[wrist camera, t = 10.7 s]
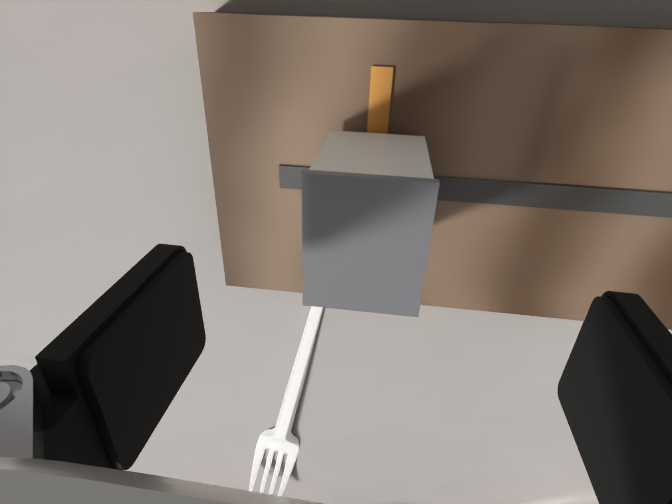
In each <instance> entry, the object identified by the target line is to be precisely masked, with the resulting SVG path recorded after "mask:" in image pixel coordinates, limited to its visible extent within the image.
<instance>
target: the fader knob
mask: <svg viewBox="0 0 672 504" xmlns="http://www.w3.org/2000/svg"><path fill="white" fill-rule="evenodd" d="M439 185H440V182H439V179H434V177H433V172H432V167H431V163H430V158H429V153H428V149H427V144H426V139H425V136H413V135H397V134H381V133H365V132H349V131H333V130H331V131H330V132H329V134H328V136H327V138H326V140H325V141H324V143H323V145H322V147H321V149H320V150H319V152H318V154H317V156H316V158H315V159H314V161H313V163H312V165H311V167H310V168H309V170H305V169H303V171H302V173H301V186H302V271H303V305H305V306H315V307H325V308H334V309H344V310H354V311H364V312H373V313H383V314H393V315H403V316H412V317H418V315H419V309H420V302H421V296H422V290H423V284H424V278H425V271H426V265H427V259H428V253H429V247H430V241H431V234H432V228H433V222H434V216H435V210H436V203H437V197H438V191H439Z"/></svg>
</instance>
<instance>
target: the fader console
mask: <svg viewBox="0 0 672 504" xmlns="http://www.w3.org/2000/svg"><path fill="white" fill-rule="evenodd" d="M193 18H194V26H195V34H196V42H197V50H198V59H199V67H200V75H201V83H202V91H203V100H204V108H205V116H206V124H207V132H208V140H209V149H210V157H211V165H212V173H213V181H214V190H215V198H216V206H217V214H218V222H219V231H220V239H221V247H222V255H223V263H224V272H225V280H226V285H229V286H239V287H249V288H259V289H269V290H279V291H289V292H299V293H303V271H302V186H301V173H302V171H303V169H305V170H309V168H310V167H311V165H312V163H313V161H314V159H315V158H316V156H317V154H318V152H319V150H320V149H321V147H322V145H323V143H324V141H325V140H326V138H327V136H328V134H329V132H330V131H331V130H333V131H349V132H365V133H381V134H397V135H413V136H425V139H426V144H427V149H428V153H429V158H430V163H431V167H432V172H433V177H434V179H439V182H440V185H439V191H438V197H437V203H436V210H435V216H434V222H433V228H432V234H431V241H430V247H429V253H428V259H427V265H426V271H425V278H424V284H423V290H422V296H421V302H420V305H430V306H440V307H450V308H460V309H470V310H480V311H490V312H500V313H510V314H520V315H530V316H540V317H550V318H560V319H570V320H580V321H584V320H585V318H586V315H587V313H588V310H589V308H590V305H591V303H592V301H593V299H594V298H595V297H597V296H602V294H603V293H605V292H606V291H615V292H625V293H634V294H638V295H639V296H641V297H642V299H643V300H644V301H645V302H646V304H647V305H648V306H649V307H650V308H651V310H652V311H653V312H654V313H655V315H656V316H657V317H658V318H659V320H660V321H661V322H662V323H663V324H664V326H665V327H666V328H667V329H671V330H672V29H659V28H631V27H604V26H577V25H549V24H522V23H494V22H467V21H440V20H412V19H385V18H358V17H330V16H303V15H275V14H248V13H221V12H194V13H193Z"/></svg>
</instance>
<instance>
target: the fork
mask: <svg viewBox="0 0 672 504" xmlns="http://www.w3.org/2000/svg"><path fill="white" fill-rule="evenodd" d="M323 308H324V307H315V306H311V309H310V312H309V316H308V319H307V322H306V326H305V329H304V332H303V336H302V339H301V342H300V346H299V349H298V352H297V355H296V359H295V362H294V365H293V369H292V372H291V375H290V378H289V382H288V385H287V389H286V392H285V395H284V399H283V402H282V406H281V409H280V413H279V416H278V419H277V423H276V426H275V428H273V429H268V430H265V431H263V432H262V433H261V435H260V436H259V439H258V443H257V446H256V450H255V455H254V460H253V467H252V473H251V480H250V486H249V491H251V492H252V491H253V487H254V484H255V481H256V477H257V474H258V471H259V468H260V465H261V461H262V458H263V455H264V452H265V449H266V448H268V449H269V453H268V457H267V461H266V465H265V470H264V475H263V479H262V483H261V487H260V491H259V493H263V491H264V488H265V484H266V481H267V478H268V474H269V471H270V467H271V463H272V459H273V456H274V452H275V451H278V452H279V453H278V457H277V461H276V465H275V470H274V474H273V478H272V482H271V487H270V491H269V495H272V494H273V491H274V488H275V484H276V481H277V477H278V474H279V471H280V467H281V463H282V459H283V456H284V453H287V454H288V456H287V460H286V465H285V469H284V473H283V477H282V481H281V485H280V489H279V493H278V496H281V497H282V495H283V492H284V490H285V487H286V485H287V482H288V480H289V477H290V475H291V472H292V470H293V467H294V465H295V462H296V459H297V456H298V451H299V447H300V444H299V441H298V439H297V437H295V436H294V435H293V434H292V433H291V429H292V425H293V422H294V418H295V414H296V411H297V407H298V403H299V399H300V396H301V392H302V388H303V385H304V381H305V377H306V373H307V369H308V365H309V361H310V357H311V354H312V350H313V346H314V342H315V338H316V334H317V331H318V327H319V323H320V319H321V316H322V312H323Z"/></svg>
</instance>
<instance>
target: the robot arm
mask: <svg viewBox="0 0 672 504" xmlns="http://www.w3.org/2000/svg"><path fill="white" fill-rule="evenodd" d="M205 340H206V337H205V330H204V324H203V317H202V311H201V305H200V299H199V292H198V286H197V280H196V274H195V268H194V261H193V257H192V255H191V253H188V252H186V249H185V248H184V247H183V246H177V245H168V244H158V245H156V246H155V247H154V248H153V249H152V250H151V251H150V252H149V253H148V254H146V255H145V256H144V257H143V258H142V259H141V260H140V261H139V262H138V263H137V264H136V265H135V266H133V267H132V268H131V269H130V270H129V271H128V272H127V273H126V274H125V275H124V276H123V277H121V278H120V279H119V280H118V281H117V282H116V283H115V284H114V285H113V286H112V287H111V288H109V289H108V290H107V291H106V292H105V293H104V294H103V295H102V296H101V297H100V298H99V299H97V300H96V301H95V302H94V303H93V304H92V305H91V306H90V307H89V308H88V309H87V310H86V311H84V312H83V313H82V314H81V315H80V316H79V317H78V318H77V319H76V320H75V321H74V322H72V323H71V324H70V325H69V326H68V327H67V328H66V329H65V330H64V331H63V332H62V333H60V334H59V335H58V336H57V337H56V338H55V339H54V340H53V341H52V342H51V343H50V344H48V345H47V346H46V347H45V348H44V349H43V350H42V351H41V352H40V353H39V354H38V355H37V356H35V358H36V361H37V363H38V364H37V365H36V366H34V367H33V368H32V369H31V370H30V371H28V370H27V369H26V368H24V367H20V366H16V365H5V366H0V504H322V503H316V502H310V501H304V500H299V499H293V498H287V497H281V496H275V495H269V494H263V493H257V492H251V491H245V490H239V489H233V488H227V487H221V486H215V485H209V484H203V483H197V482H191V481H185V480H179V479H173V478H167V477H162V476H156V475H150V474H144V473H137V472H130V471H124V470H127V469H129V468H130V467H131V466H132V465H133V464H134V462H135V461H136V459H137V457H138V456H139V454H140V452H141V451H142V449H143V447H144V446H145V444H146V443H147V441H148V439H149V438H150V436H151V434H152V433H153V431H154V429H155V428H156V426H157V425H158V423H159V421H160V420H161V418H162V416H163V415H164V413H165V412H166V410H167V408H168V407H169V405H170V403H171V402H172V400H173V398H174V397H175V395H176V394H177V392H178V390H179V389H180V387H181V385H182V384H183V382H184V381H185V379H186V377H187V376H188V374H189V372H190V371H191V369H192V367H193V366H194V364H195V363H196V361H197V359H198V358H199V356H200V354H201V353H202V351H203V349H204V346H205ZM558 397H559V400H560V403H561V406H562V408H563V411H564V413H565V416H566V419H567V421H568V424H569V426H570V429H571V432H572V434H573V437H574V439H575V442H576V444H577V447H578V450H579V452H580V455H581V457H582V460H583V463H584V465H585V468H586V470H587V473H588V476H589V478H590V481H591V483H592V486H593V489H594V491H595V494H596V496H597V499H598V501H599V504H672V334H671V333H670V332H669V331H668V329H667V328H666V327H665V326H664V324H663V323H662V322H661V321H660V320H659V318H658V317H657V316H656V315H655V313H654V312H653V311H652V310H651V308H650V307H649V306H648V305H647V304H646V302H645V301H644V300H643V299H642V297H641V296H639V295H638V294H634V293H625V292H615V291H606V292H605V293H603V294H602V296H597V297H595V298H594V299H593V301H592V303H591V305H590V308H589V310H588V313H587V315H586V318H585V320H584V322H583V325H582V327H581V330H580V332H579V335H578V337H577V339H576V342H575V344H574V347H573V349H572V352H571V354H570V356H569V359H568V361H567V364H566V366H565V369H564V371H563V373H562V376H561V378H560V381H559V384H558Z"/></svg>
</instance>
